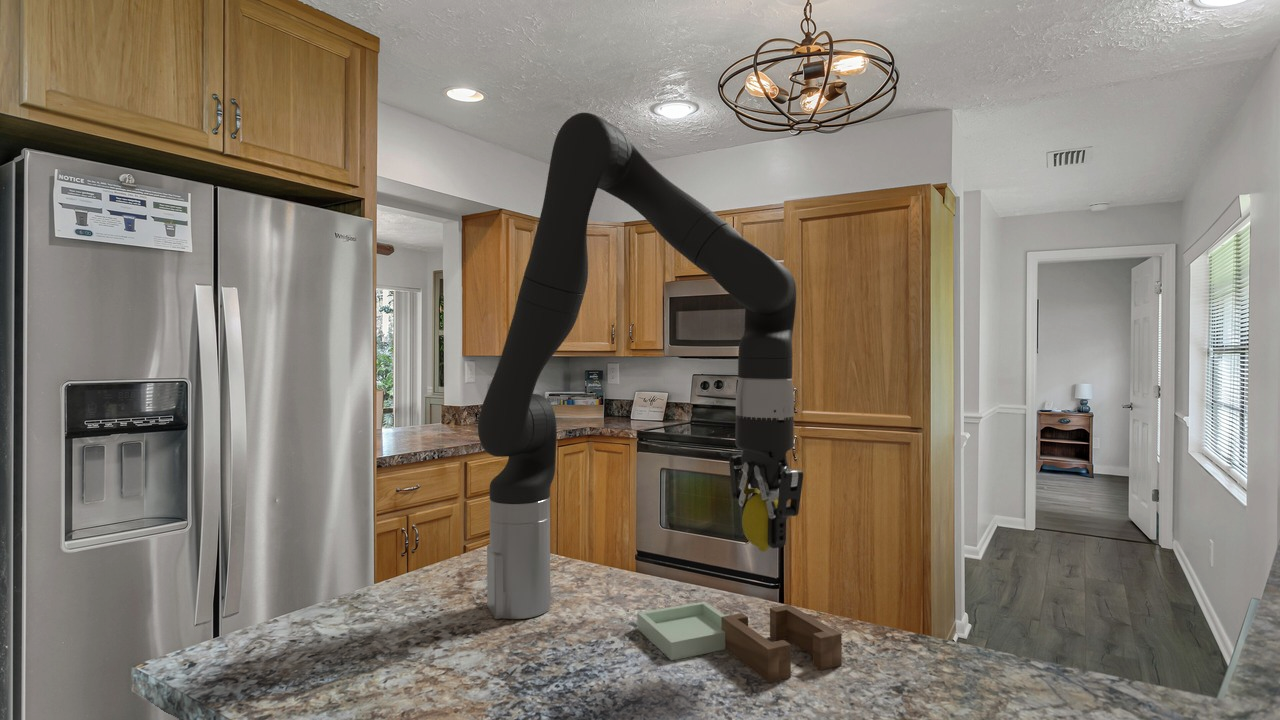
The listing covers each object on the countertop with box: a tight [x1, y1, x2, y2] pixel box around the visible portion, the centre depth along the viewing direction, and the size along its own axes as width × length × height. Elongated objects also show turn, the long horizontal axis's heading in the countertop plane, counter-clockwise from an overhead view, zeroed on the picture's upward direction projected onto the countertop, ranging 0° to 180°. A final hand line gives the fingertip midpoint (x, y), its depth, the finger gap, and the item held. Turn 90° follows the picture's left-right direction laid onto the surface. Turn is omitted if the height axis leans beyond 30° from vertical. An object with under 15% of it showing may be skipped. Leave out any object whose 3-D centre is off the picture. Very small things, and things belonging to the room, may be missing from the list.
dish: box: [636, 601, 727, 661], centre depth 94 cm, size 11×11×2 cm
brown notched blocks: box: [721, 604, 843, 683], centre depth 88 cm, size 11×11×4 cm
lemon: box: [741, 493, 778, 552], centre depth 89 cm, size 6×6×8 cm
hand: (762, 540), depth 89 cm, fingers closed on lemon, 5 cm apart
